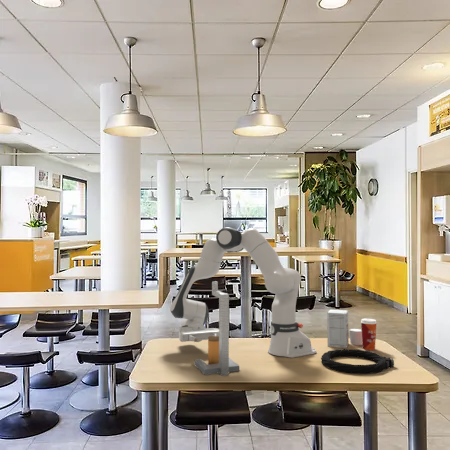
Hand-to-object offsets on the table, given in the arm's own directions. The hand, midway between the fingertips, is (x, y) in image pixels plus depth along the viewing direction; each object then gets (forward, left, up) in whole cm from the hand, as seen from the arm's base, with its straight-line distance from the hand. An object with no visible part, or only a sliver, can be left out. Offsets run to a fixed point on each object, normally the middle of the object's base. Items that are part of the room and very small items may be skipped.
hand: (205, 338), depth 204 cm
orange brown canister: (0, +12, -8) cm, 15 cm away
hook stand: (0, +19, -8) cm, 21 cm away
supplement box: (-69, +1, -9) cm, 70 cm away
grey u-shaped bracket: (0, +15, -8) cm, 17 cm away
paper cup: (-79, +12, -9) cm, 80 cm away
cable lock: (-58, +31, -9) cm, 67 cm away
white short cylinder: (-79, +2, -9) cm, 80 cm away
